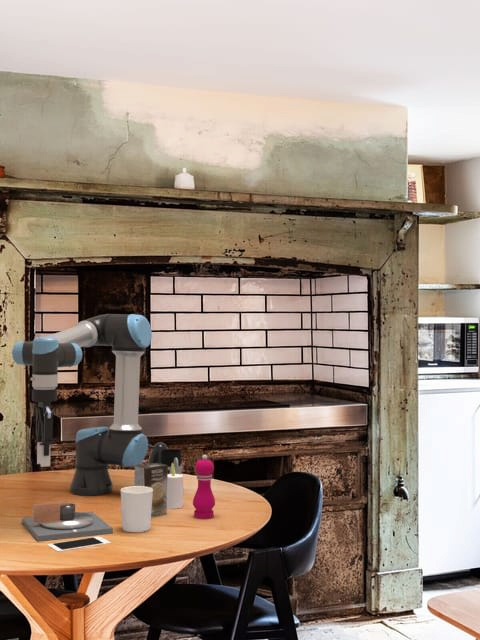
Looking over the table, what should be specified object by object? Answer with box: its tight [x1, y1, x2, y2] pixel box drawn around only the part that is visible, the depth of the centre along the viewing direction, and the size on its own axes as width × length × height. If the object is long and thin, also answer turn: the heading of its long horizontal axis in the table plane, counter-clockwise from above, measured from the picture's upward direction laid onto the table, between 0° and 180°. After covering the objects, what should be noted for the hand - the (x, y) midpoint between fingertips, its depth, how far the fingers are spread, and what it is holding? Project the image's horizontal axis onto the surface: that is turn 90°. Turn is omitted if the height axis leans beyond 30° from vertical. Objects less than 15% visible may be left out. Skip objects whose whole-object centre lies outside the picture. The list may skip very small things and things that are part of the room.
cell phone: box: [47, 535, 111, 553], centre depth 230 cm, size 8×16×1 cm, turn 125°
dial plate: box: [21, 511, 114, 542], centre depth 246 cm, size 22×22×2 cm
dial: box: [32, 500, 94, 529], centre depth 246 cm, size 18×16×6 cm
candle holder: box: [119, 485, 153, 533], centre depth 247 cm, size 10×10×12 cm
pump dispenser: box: [147, 441, 169, 464], centre depth 316 cm, size 10×10×15 cm
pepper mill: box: [192, 454, 216, 520], centre depth 263 cm, size 7×7×20 cm
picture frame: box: [160, 448, 183, 475], centre depth 296 cm, size 9×14×15 cm, turn 18°
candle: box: [167, 463, 184, 510], centre depth 276 cm, size 6×6×15 cm
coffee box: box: [133, 463, 168, 518], centre depth 265 cm, size 9×6×16 cm
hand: (43, 464), depth 248 cm, fingers open, 4 cm apart
